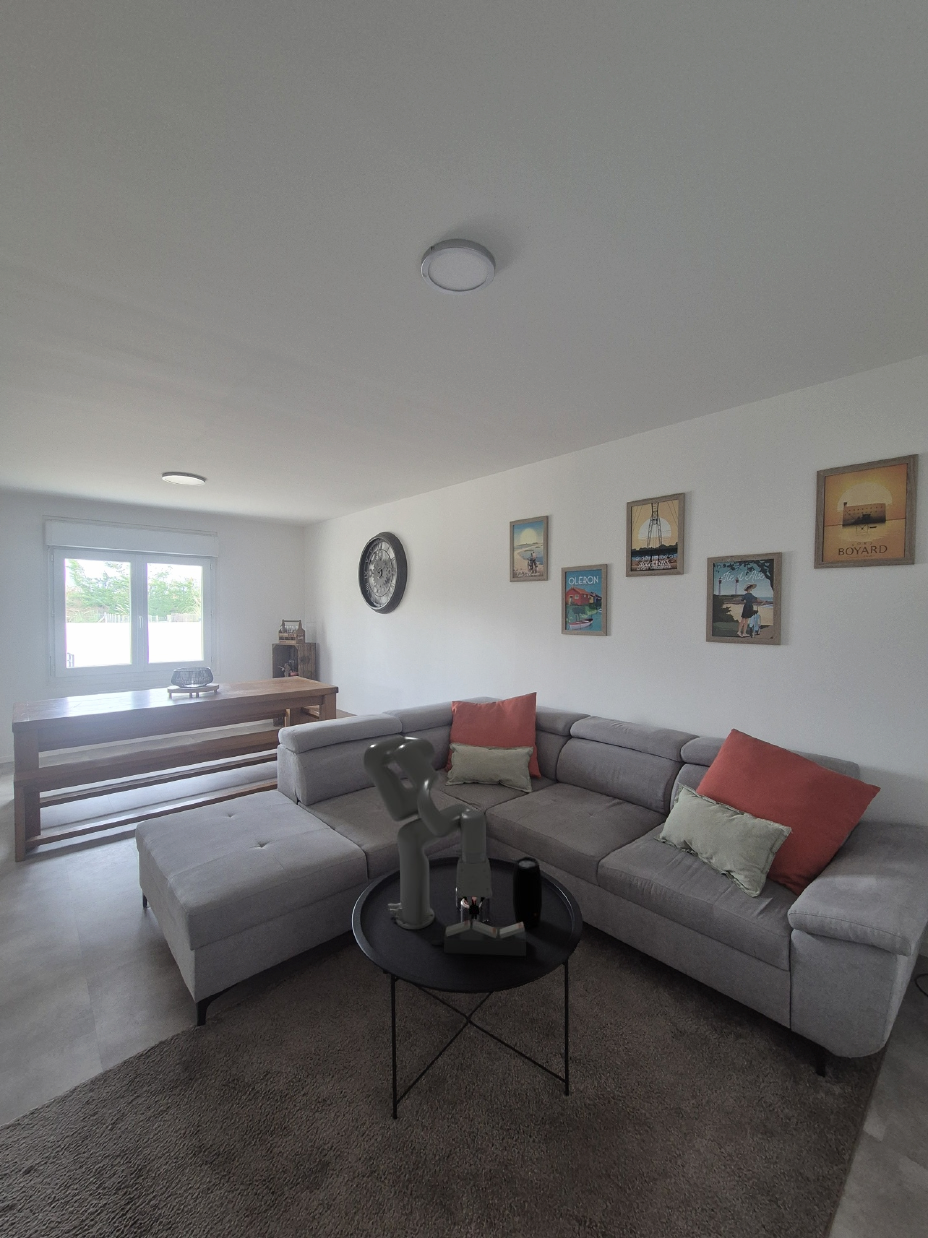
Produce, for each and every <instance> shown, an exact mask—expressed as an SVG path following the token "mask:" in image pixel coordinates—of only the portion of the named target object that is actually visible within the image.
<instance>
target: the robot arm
mask: <svg viewBox="0 0 928 1238" xmlns="http://www.w3.org/2000/svg"><path fill="white" fill-rule="evenodd" d="M435 754H436V751H435V747H434V745H433V743H431V741H429V740H427V739H426V738H422V737H421V738H420V737H411V736H399V737H394V738H390V739H386V740H381V741H377V742H375V743H372V744H371V745H369V746H368V747H367V748H366V750H365V751H364V754H363V767H364V770H365V772H366V775H367V776H368V778H369V779H370V780H371V782H372V783H373V785H374V787H375V788H376V790H377V792H378V794H379V796H380V798H381V801H382V802H383V805H384V807H385V808H386V811H387V813H388V815H389V816H390V818H391V820H393V821H394V822H396V823H397V822H398V823H399V822H403V821H407V820H409V819H411V818H413V817H416V819H414V820H411V821H409V822H406V823H404V824H403V825H402V826H401V827H400V828H399V829H398V831H397V834H396V842H397V843H396V844H397V849H398V855H399V873H400V875H399V876H400V877H399V878H400V879H399V881H400V882H399V884H400V885H399V887H400V895H399V896H400V897H399V898H400V902H397V903H388V904H387V910H388V911H389V914H395V921H396V924H397V925H398V926H399V927H401V928H403V929H407V930H419V929H420V930H421V929H423V928H426V927H428V926H429V925H431V924H432V923H433V922H434V919H435V912H434V910H433V909H432V908H431V907H430V861H429V859H428V857H427V856H426V854H425V850H426V849H427V848H429V847H430V846H433V845H434V844H436V843H438V842H440V841H442V839H444V838H447V837H449V836H451V835H454V834H456V833H457V832H460V848H459V849H457V850H456V851H455V855H456V856H458V861H457V865H456V894H455V896H456V898H459V899H463V900H464V901H465V902H466V903H467V905H468V915H469V916H471V918H470V919H471V920H477V919H478V915H479V916H480V905H481V903H482V902H484V900H487V899H491V898H492V897H493V891H492V878H491V877H492V876H491V875H492V874H491V867H490V866H491V865H490V860H489V857H487V832H486V830H487V827H486V825H487V824H486V815H485V814H484V812H482V811H481V810H477V809H476V810H475V809H472V808H470V807H469V806H467V805H465V804H463V803H455V804H453V805H451V806H447V807H446V808H443V809H440V810H439V809H438V808H437V806H436V804H435V802H434V800H433V798H432V796H431V790H432V789H433V788H434V787H435V785H436V784H437V782H438V781H439V774H438V772H437V771H436V769H435V768H434V767H433V766H432V764H431V762H433V760H434V759H435V756H436V755H435ZM393 764H397V765H398V767H399V768H400V769H401V771H402V772H403V774H404V775H405V777H406V778H407V780H408V781H409V782H410V783H411V785H412V786H410V787H407V788H406V786H405V785H404V784H403V781H402V779H401V777H400V776H399V775H398V774H397V772H396V771H394V770H393V769H391V768H390V767H388V766H390V765H393ZM473 898H475V899H473Z"/></svg>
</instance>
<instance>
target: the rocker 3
mask: <svg viewBox="0 0 928 1238" xmlns="http://www.w3.org/2000/svg"><path fill="white" fill-rule="evenodd" d="M504 927H505V928H502V929H500V937H501V938H504V937H507V936H511V935H514V934H517V933H520V932H523V931H524V924H523V922H520V923H517V922H516V923H515V924H512V925H509V926H504Z"/></svg>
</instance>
